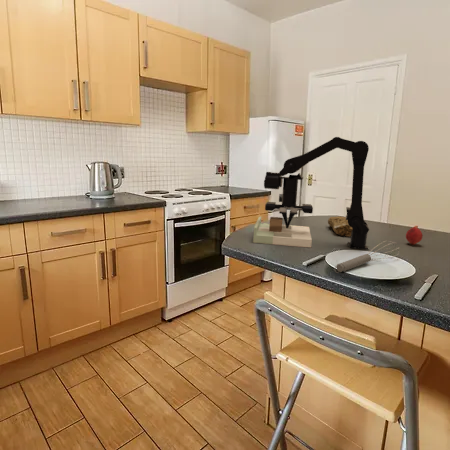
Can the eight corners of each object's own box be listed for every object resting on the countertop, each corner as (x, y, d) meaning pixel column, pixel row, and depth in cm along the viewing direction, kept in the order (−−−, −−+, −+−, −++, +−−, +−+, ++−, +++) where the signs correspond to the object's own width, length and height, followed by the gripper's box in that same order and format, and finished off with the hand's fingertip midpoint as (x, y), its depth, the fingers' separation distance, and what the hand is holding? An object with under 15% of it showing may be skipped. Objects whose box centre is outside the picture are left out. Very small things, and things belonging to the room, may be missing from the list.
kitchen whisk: (326, 270, 104) (328, 251, 102) (385, 254, 123) (387, 237, 121) (343, 277, 99) (345, 256, 97) (401, 259, 118) (404, 242, 117)
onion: (412, 247, 132) (415, 227, 130) (401, 243, 137) (404, 224, 135) (424, 246, 133) (427, 227, 132) (412, 242, 139) (415, 223, 137)
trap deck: (311, 247, 126) (312, 232, 125) (253, 242, 130) (254, 227, 129) (308, 233, 147) (309, 220, 146) (258, 229, 151) (259, 216, 150)
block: (281, 232, 136) (282, 220, 135) (269, 231, 137) (269, 219, 135) (281, 229, 141) (282, 217, 139) (269, 228, 141) (270, 216, 140)
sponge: (357, 241, 143) (357, 222, 160) (356, 224, 140) (356, 207, 157) (325, 242, 148) (329, 224, 165) (324, 226, 145) (327, 209, 162)
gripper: (312, 189, 140) (309, 225, 144) (268, 186, 143) (265, 222, 147) (314, 192, 129) (310, 231, 133) (266, 189, 133) (263, 228, 136)
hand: (287, 228), depth 138 cm, fingers closed
